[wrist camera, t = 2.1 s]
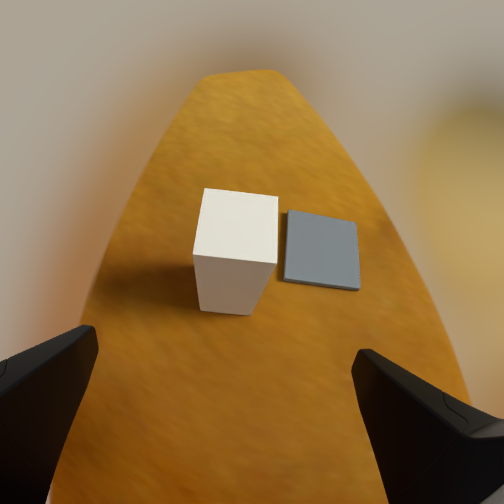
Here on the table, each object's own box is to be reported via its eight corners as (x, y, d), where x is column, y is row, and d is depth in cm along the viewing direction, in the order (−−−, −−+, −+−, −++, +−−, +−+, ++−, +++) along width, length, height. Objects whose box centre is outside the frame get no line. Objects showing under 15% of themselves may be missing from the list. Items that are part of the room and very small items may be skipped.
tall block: (250, 315, 23) (277, 263, 14) (200, 310, 22) (192, 254, 13) (253, 269, 24) (277, 196, 16) (206, 264, 24) (204, 188, 15)
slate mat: (357, 290, 25) (360, 288, 24) (283, 280, 24) (284, 278, 24) (353, 225, 28) (355, 222, 27) (287, 213, 28) (288, 209, 27)
